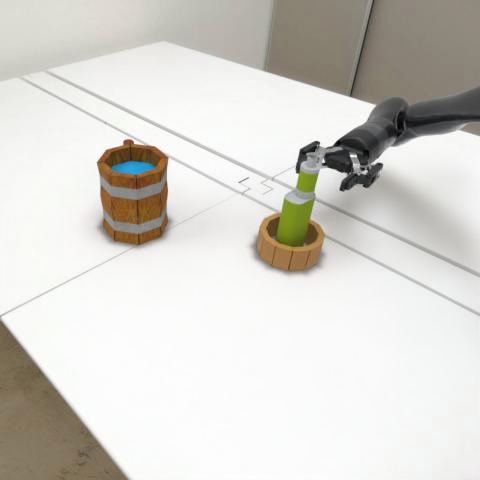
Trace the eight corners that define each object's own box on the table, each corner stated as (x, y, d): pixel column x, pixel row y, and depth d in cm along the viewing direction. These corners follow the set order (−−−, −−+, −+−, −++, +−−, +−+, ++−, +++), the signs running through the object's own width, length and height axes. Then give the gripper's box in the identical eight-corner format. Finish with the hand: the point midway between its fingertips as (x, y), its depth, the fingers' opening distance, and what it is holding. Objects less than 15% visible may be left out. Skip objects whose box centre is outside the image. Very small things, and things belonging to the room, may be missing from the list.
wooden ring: (324, 241, 90) (329, 222, 87) (311, 278, 82) (317, 258, 79) (266, 226, 94) (270, 206, 91) (249, 259, 86) (252, 239, 83)
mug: (173, 241, 90) (174, 175, 80) (104, 247, 89) (97, 181, 79) (159, 188, 105) (159, 127, 96) (100, 193, 104) (94, 132, 94)
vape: (305, 248, 88) (329, 156, 76) (285, 261, 85) (306, 167, 73) (290, 239, 90) (311, 148, 78) (270, 251, 88) (288, 159, 75)
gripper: (331, 118, 91) (288, 145, 82) (403, 140, 83) (364, 173, 74) (323, 152, 96) (281, 181, 87) (390, 176, 88) (352, 211, 79)
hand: (319, 177), depth 80 cm, fingers open, 8 cm apart
